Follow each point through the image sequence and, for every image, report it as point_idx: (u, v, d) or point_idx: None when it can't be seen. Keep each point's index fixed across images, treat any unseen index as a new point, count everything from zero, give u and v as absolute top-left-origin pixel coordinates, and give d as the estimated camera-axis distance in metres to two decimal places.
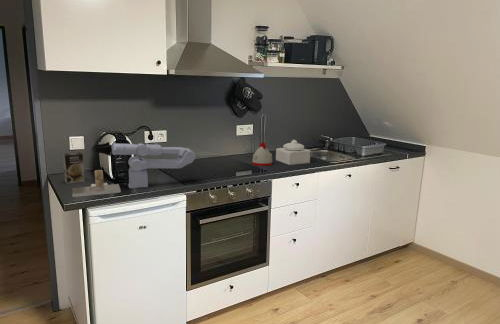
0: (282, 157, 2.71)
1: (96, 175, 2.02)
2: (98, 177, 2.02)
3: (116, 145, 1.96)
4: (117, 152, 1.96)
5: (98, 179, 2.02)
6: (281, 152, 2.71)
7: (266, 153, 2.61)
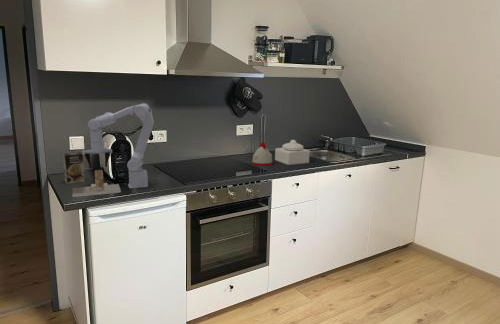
0: (281, 157, 2.71)
1: (96, 175, 2.02)
2: (98, 177, 2.02)
3: None
4: (92, 148, 1.99)
5: (98, 179, 2.02)
6: (280, 152, 2.71)
7: (266, 153, 2.61)
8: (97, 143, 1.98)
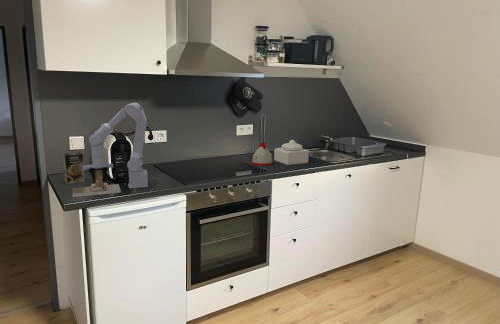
0: (280, 157, 2.71)
1: (96, 175, 2.02)
2: (98, 177, 2.02)
3: None
4: (93, 163, 2.00)
5: (98, 179, 2.02)
6: (279, 152, 2.71)
7: (266, 153, 2.61)
8: (98, 158, 2.00)
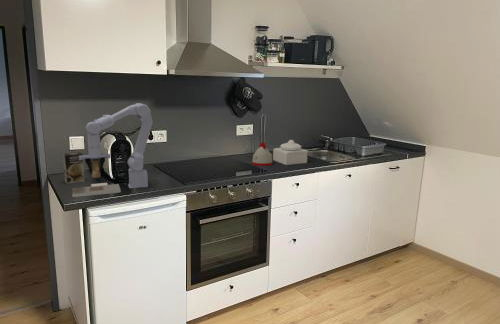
0: (279, 157, 2.71)
1: (92, 166, 1.92)
2: (95, 168, 1.93)
3: None
4: (89, 153, 1.90)
5: (94, 169, 1.93)
6: (278, 152, 2.71)
7: (266, 153, 2.61)
8: (95, 148, 1.90)
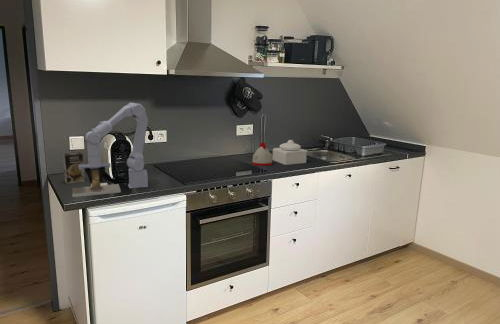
0: (278, 157, 2.71)
1: (92, 175, 1.91)
2: (95, 178, 1.91)
3: None
4: (89, 163, 1.89)
5: (94, 179, 1.91)
6: (277, 152, 2.71)
7: (266, 153, 2.61)
8: (95, 157, 1.88)
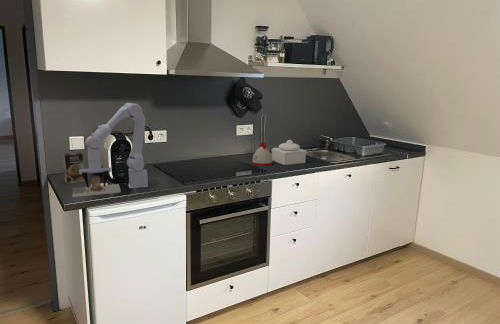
0: (277, 157, 2.71)
1: (93, 182, 1.91)
2: (95, 184, 1.92)
3: None
4: (89, 167, 1.89)
5: (95, 185, 1.92)
6: (276, 152, 2.71)
7: (266, 153, 2.61)
8: (95, 162, 1.88)
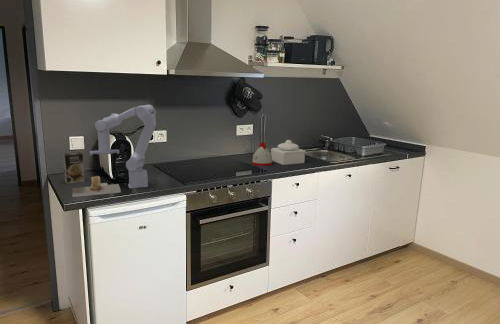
0: (276, 157, 2.71)
1: (93, 182, 1.91)
2: (95, 184, 1.92)
3: None
4: (99, 149, 2.03)
5: (95, 185, 1.92)
6: (275, 152, 2.71)
7: (266, 153, 2.61)
8: (105, 144, 2.02)
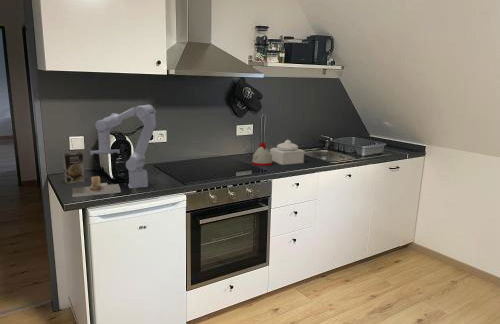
0: (275, 157, 2.71)
1: (93, 182, 1.91)
2: (95, 184, 1.92)
3: None
4: (100, 149, 2.03)
5: (95, 185, 1.92)
6: (275, 152, 2.71)
7: (266, 153, 2.61)
8: (105, 144, 2.02)
